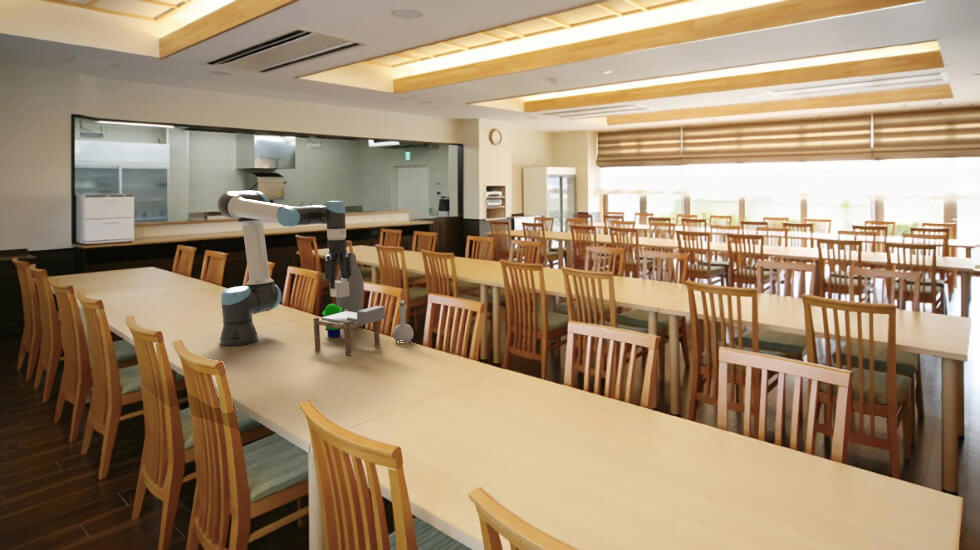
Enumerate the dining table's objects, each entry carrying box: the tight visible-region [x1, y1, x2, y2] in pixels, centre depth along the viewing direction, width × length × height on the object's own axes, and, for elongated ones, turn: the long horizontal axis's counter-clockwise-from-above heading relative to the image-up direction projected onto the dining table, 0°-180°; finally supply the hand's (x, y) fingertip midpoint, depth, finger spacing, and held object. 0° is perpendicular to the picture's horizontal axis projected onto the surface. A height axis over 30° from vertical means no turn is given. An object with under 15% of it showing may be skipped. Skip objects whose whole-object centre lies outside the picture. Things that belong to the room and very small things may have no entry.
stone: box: [329, 280, 350, 298], centre depth 239 cm, size 6×5×6 cm
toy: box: [321, 303, 344, 339], centre depth 257 cm, size 9×9×15 cm
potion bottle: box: [392, 299, 414, 344], centre depth 249 cm, size 9×9×18 cm
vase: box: [335, 252, 365, 329], centre depth 274 cm, size 13×13×35 cm
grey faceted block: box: [321, 305, 386, 326], centre depth 236 cm, size 22×14×6 cm, turn 60°
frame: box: [313, 310, 381, 357], centre depth 240 cm, size 18×18×14 cm
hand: (339, 294), depth 239 cm, fingers closed on stone, 5 cm apart
